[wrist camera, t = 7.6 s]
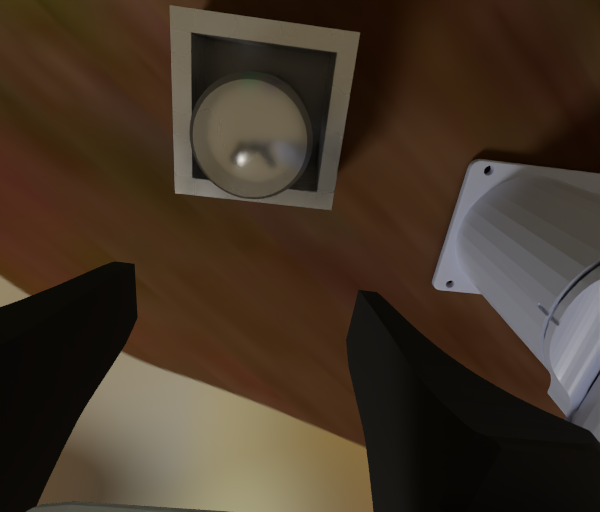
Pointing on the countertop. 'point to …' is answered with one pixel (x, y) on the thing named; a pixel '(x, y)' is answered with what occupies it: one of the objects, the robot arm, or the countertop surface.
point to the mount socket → (273, 59)
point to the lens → (251, 134)
